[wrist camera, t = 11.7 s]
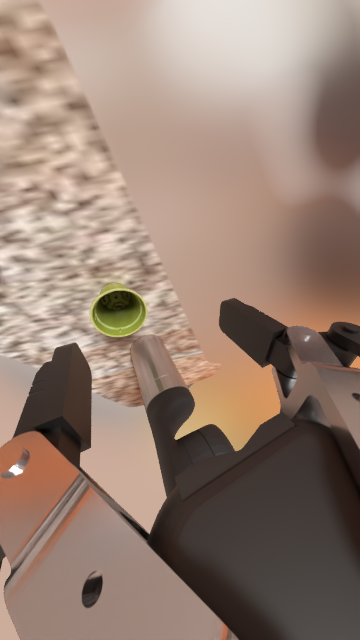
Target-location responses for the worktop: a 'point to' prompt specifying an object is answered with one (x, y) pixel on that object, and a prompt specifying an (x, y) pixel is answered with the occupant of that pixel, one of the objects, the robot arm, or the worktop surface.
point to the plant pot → (118, 311)
